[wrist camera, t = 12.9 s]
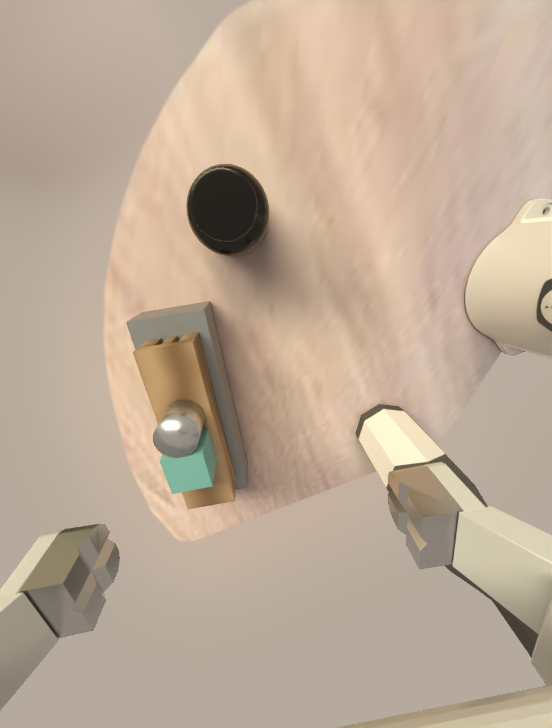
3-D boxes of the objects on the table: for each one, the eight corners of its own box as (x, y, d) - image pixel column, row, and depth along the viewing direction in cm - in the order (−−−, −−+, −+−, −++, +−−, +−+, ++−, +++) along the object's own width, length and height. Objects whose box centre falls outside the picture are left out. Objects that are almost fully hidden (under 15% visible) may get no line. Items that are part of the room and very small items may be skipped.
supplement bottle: (254, 176, 30) (256, 133, 19) (273, 244, 33) (285, 241, 22) (191, 196, 31) (158, 166, 19) (215, 262, 33) (198, 269, 22)
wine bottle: (358, 454, 45) (536, 791, 17) (351, 410, 42) (555, 731, 14) (409, 442, 45) (672, 760, 17) (406, 396, 42) (722, 693, 14)
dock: (210, 301, 35) (204, 309, 30) (247, 461, 43) (246, 487, 39) (142, 312, 34) (126, 322, 30) (194, 471, 43) (187, 497, 39)
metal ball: (199, 396, 29) (192, 417, 26) (208, 429, 31) (203, 453, 27) (160, 402, 29) (147, 425, 26) (171, 435, 31) (160, 461, 27)
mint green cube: (208, 429, 31) (202, 453, 27) (216, 459, 32) (212, 486, 29) (170, 436, 31) (159, 461, 27) (181, 465, 32) (172, 493, 29)
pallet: (198, 332, 31) (192, 342, 27) (236, 478, 38) (234, 500, 35) (146, 340, 31) (132, 352, 27) (193, 485, 38) (187, 509, 35)
